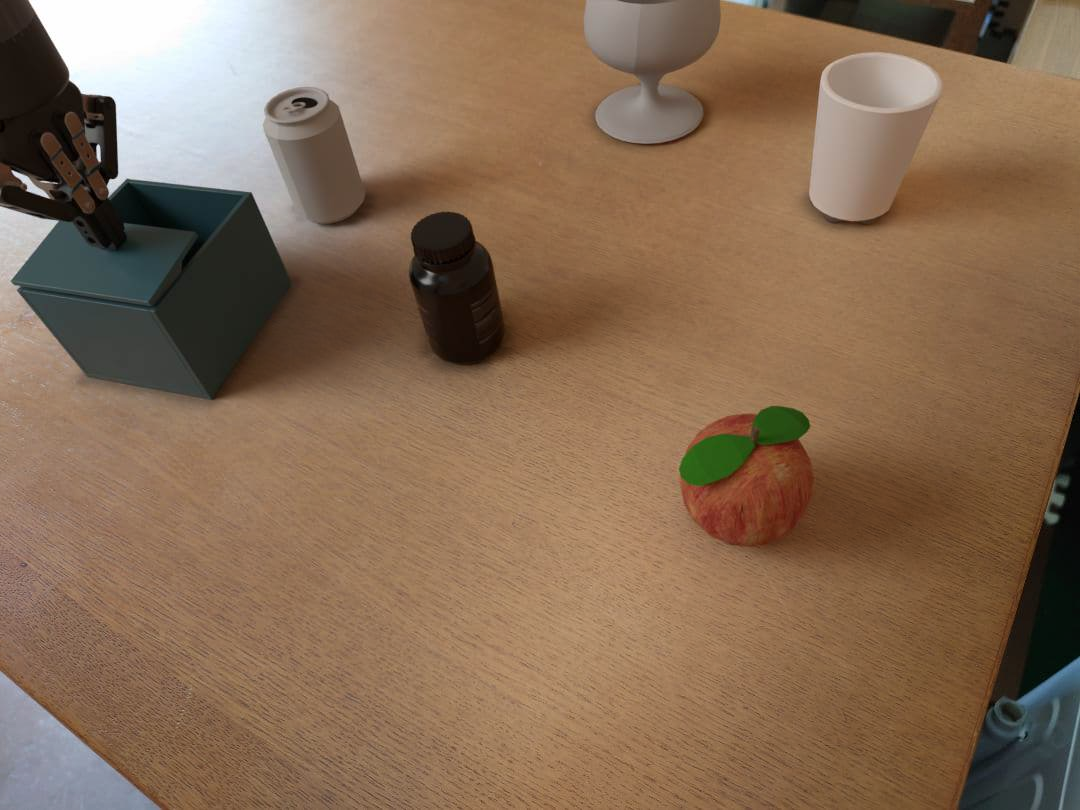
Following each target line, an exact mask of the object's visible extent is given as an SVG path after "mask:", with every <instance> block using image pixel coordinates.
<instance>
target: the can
mask: <svg viewBox="0 0 1080 810" xmlns="http://www.w3.org/2000/svg"><path fill="white" fill-rule="evenodd" d="M340 109H341V108H340V106H339V105H338V104H337V103H336V102H335V101H333V100H332V99H330V96H329V94H328V92H326V91H325V90H323V89H321V88H318V87H315V86H314V87H312V86H299V87H295V88H290V89H287V90H284V91H281V92H279V93H277V94H276V95H274V96H273V97H271V98H270V99H269V101H268V102H266V104H265V106H264V108H263V112H264V116H265V119H264V121H263V123H262V128H263V132H264V134H265V137H266V140H267V142H268V145H269V148H270V150H271V152H272V155H273V157H274V160H275V162H276V165H277V167H278V170H279V172H280V175H281V178H282V179H283V182H284V184H285V188H286V190H287V193H288V195H289V198H290V201H291V203H292V205H293V207H294V209H295V212H296V213H297V214H298V216H300V218H302V219H305V220H307V221H310V222H314V223H315V224H321V225H327V224H334V223H338V222H342V221H344V220H346V219H348V218H350V217H352V216H353V215H354V214H355V213H356V212H357V210H358V209H359V208H360V207H361V205H362V204H363V203H364V201H365V197H366V190H365V188H364V184H363V181H362V178H361V174H360V170H359V167H358V165H357V162H356V159H355V155H354V152H353V148H352V145H351V142H350V138H349V135H348V132H347V129H346V126H345V122H344V119H343V117H342V113H341V110H340Z"/></svg>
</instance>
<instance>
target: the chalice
mask: <svg viewBox="0 0 1080 810" xmlns="http://www.w3.org/2000/svg"><path fill="white" fill-rule="evenodd" d="M721 13H722V11H721V1H720V0H586V3H585V7H584V12H583V32H584V39H585V41H586V43H587V45H588V47H589V49H590V51H591V53H592V54H593V55H594V57H596V58H597V59H598V60H599V61H600V62H601V63H603V64H605V65H606V66H609V67H610V68H612V69H614V70H616V71H620V72H621V73H625V74H630V75H633V76H635V77H636V78H637V80H638V82H639V83H640V84H639V85H633V86H629V87H625V88H622V89H619V90H617V91H615V92H613V93H611V94H610V95H608V96H607V97H605V98H604V99H603V100H602V101H601V102H600V104H599V105H598V106H597V108H596V111H595V121H596V123H597V127H599V128H600V129H601V130H602V132H604V133H605V134H607V135H609V136H610V137H612V138H615V139H617V140H620V141H622V142H627V143H633V144H645V145H646V144H647V145H648V144H661V143H665V142H671V141H675V140H676V139H679V138H682V137H685V136H686V135H688V134H690V133H692V132H693V131H694V130H695V129H696V128H697V127H699V125H700V124H701V122H702V120H703V118H704V108H703V104H702V103H701V102H700V101H699V99H698V98H697V97H695V96H694V95H692V94H691V93H689V92H688V91H686V90H684V89H682V88H679V87H676V86H672V85H666V84H660V82H661V80H662V78H663V77H664V76H665V75H667V74H670V73H673V72H677V71H680V70H682V69H684V68H686V67H688V66H690V65H692V64H693V63H695V62H697V61H699V60H700V59H701V58H702V57H704V56H705V55H706V53H707V52H708V51H709V50H710V49H711V47H712V46H713V44H714V43H715V41H716V39H717V37H718V36H719V32H720V26H721V18H722V17H721V16H722V14H721Z"/></svg>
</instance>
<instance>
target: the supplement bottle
mask: <svg viewBox="0 0 1080 810" xmlns="http://www.w3.org/2000/svg"><path fill="white" fill-rule="evenodd" d="M476 239H477V238H476V236H475V234H474V229H473V225H472V223H471V221H470V219H468V217H467V216H465V215H464V214H461V213H459V212H455V211H439V212H438V211H437V212H435V213H430V214H429V215H425V216H424V217H423V218H421V219H420V220H418V221H417V222H416V224H414V225H413V227H412V229H411V232H410V242H411V245H412V247H413V249H412V250H413V251H412V252H413V254H414V255H413V257H412V258H411V260H410V263H409V266H408V279H409V282H410V283H409V284H410V287H411V289H412V293H413V296H414V299H415V302H416V306H417V309H418V313H419V316H420V320H421V322H422V326H423V328H424V332H425V335H426V338H427V341H428V344H429V346H430V349H431V351H432V352H433V353H434V354H435V356H437V357H438V358H439V359H441V360H443V361H445V362H447V363H450V364H454V365H470V364H475V363H479V362H481V361H483V360H485V359H488V358H489V357H491V356H492V355H493V354H495V353H496V352H497V350H498V349H499V348H500V347H501V345H502V344H503V341H504V339H505V334H506V326H505V320H504V315H503V310H502V305H501V300H500V294H499V288H498V285H497V278H496V274H495V273H496V272H495V269H494V263H493V259H492V256H491V254H490V252H489V251H488V250H487V248H486V247H485V246H484V245H483V243H481V242H479V241H477V240H476Z"/></svg>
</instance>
